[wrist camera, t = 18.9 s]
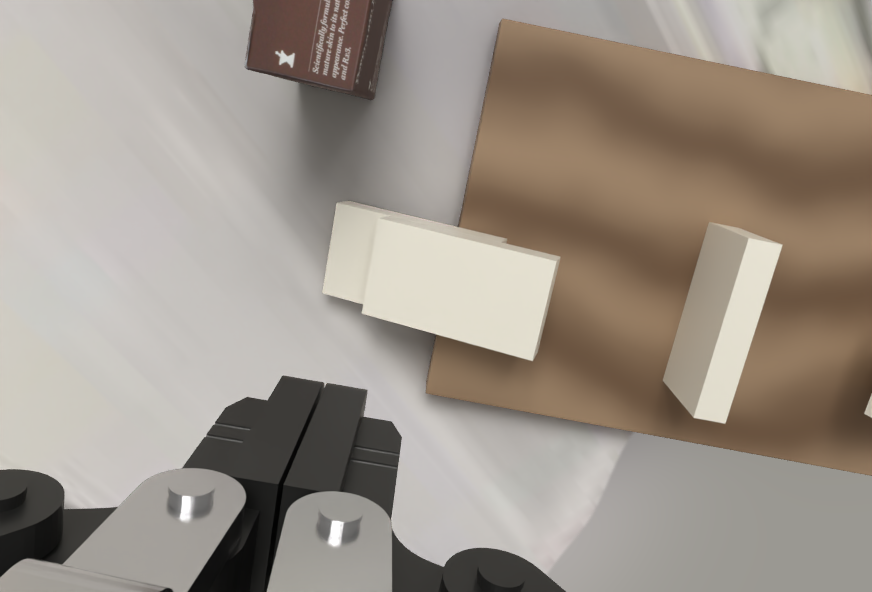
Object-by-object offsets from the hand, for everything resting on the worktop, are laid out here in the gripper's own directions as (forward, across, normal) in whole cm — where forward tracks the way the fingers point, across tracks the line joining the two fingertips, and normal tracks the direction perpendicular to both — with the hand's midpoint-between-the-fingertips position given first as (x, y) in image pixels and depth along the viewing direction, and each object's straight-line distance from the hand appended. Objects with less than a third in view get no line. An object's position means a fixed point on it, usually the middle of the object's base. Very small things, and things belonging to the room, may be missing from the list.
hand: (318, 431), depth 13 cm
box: (+28, +4, -8) cm, 29 cm away
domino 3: (+23, -17, -2) cm, 29 cm away
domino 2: (+22, -8, +3) cm, 23 cm away
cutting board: (+28, -17, 0) cm, 32 cm away
